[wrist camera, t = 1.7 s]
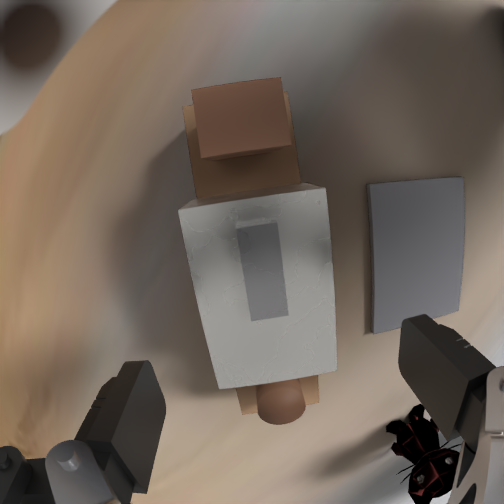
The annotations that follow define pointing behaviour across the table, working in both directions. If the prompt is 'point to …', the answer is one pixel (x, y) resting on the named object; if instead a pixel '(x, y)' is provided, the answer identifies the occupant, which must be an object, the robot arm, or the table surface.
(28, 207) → the table surface
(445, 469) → the cat figurine
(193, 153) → the plane body
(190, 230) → the lever cap
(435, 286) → the felt mat
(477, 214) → the table surface
